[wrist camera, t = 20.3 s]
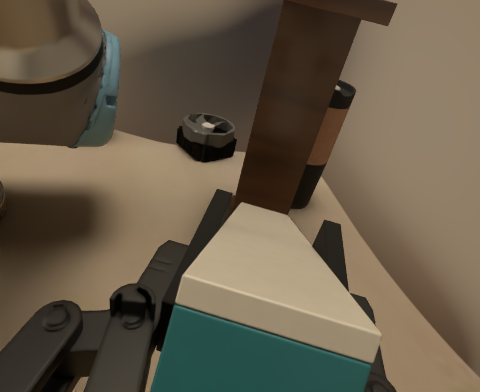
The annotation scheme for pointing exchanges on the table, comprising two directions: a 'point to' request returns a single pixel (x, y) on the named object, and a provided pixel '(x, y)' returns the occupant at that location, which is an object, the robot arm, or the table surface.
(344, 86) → the travel mug
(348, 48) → the shelf stand
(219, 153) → the cpu cooler
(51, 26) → the robot arm
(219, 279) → the long rectangular block
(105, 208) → the table surface
